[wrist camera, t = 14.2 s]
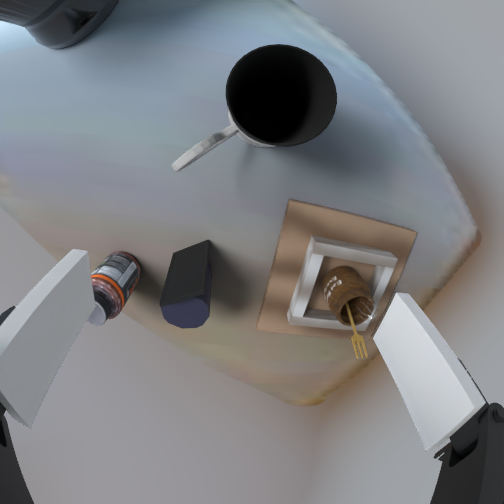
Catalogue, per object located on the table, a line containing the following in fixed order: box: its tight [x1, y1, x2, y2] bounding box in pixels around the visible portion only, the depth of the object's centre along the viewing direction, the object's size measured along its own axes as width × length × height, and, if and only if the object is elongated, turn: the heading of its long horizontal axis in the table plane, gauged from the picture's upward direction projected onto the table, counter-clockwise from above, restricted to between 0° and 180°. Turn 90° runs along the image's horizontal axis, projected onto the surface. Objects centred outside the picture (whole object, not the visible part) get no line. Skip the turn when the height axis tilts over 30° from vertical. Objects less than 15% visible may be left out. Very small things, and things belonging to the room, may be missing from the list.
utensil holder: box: [322, 266, 380, 358], centre depth 32 cm, size 6×6×12 cm
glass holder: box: [172, 44, 337, 172], centre depth 23 cm, size 9×14×15 cm, turn 124°
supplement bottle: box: [87, 251, 141, 326], centre depth 32 cm, size 6×6×11 cm
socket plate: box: [256, 199, 417, 339], centre depth 37 cm, size 20×20×4 cm
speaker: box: [159, 240, 212, 328], centre depth 33 cm, size 8×6×10 cm
